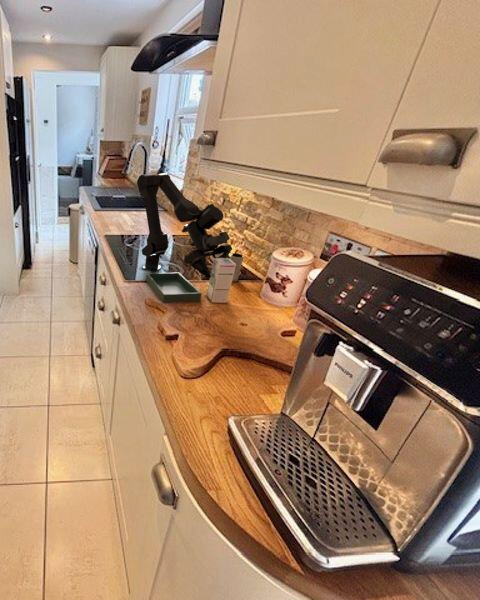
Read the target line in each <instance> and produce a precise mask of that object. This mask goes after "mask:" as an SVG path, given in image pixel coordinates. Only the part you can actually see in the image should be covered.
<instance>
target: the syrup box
mask: <svg viewBox="0 0 480 600" xmlns="http://www.w3.org/2000/svg"><path fill="white" fill-rule="evenodd" d="M211 266H212V267H211V271H210V275H211V278H209V281H208V286H207V289H206V290H207V291H206V297H207V298H208V300H209V301H210V302H211V303H216V304H217V303H218V304H219V303H222V304H226V303H228V300H229V297H230V293H231V288H232V283H233V281H232V280H233V275H234V271H235V266H236V264H235V263H234V262H233V261H232V260H231V259H230V258H229V257H228V258H214V257H213V260H212V265H211Z"/></svg>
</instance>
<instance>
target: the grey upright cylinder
mask: <svg viewBox="0 0 480 600" xmlns="http://www.w3.org/2000/svg"><path fill="white" fill-rule="evenodd" d="M230 254H231V255H230V258H229V259H231V260H232V261H233V262H234V263H235V264H236V266H235V271H234V275H233V280H232V282H237V281H239V277H240V273H241V269H242V265H243V262H244V257H245V256H244V254H242V253H230Z"/></svg>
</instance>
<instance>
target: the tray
mask: <svg viewBox="0 0 480 600" xmlns="http://www.w3.org/2000/svg"><path fill="white" fill-rule="evenodd" d="M145 281H146V283H147V284H148V286H149V287H150V288H151V290H153V292H154V293H155V295H156V296H157V297H158V298H159V299H160V301H161V302H162V303H180V302H181V303H182V302H183V303H185V302H200V301H201V299H202V292H201V291H200V290H199V288H197V287H195V285H194V284H192V283H191V282H190V281H189V280H188V279H187V278H186V277H184V275H183V274H182V273H181V272H179V271H178V272H177V271H175V272H150V273H149V272H148V273H146V275H145Z"/></svg>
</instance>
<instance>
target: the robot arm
mask: <svg viewBox="0 0 480 600" xmlns="http://www.w3.org/2000/svg"><path fill="white" fill-rule="evenodd" d="M136 186H137V189H138V193H139V194H140V195H141V197H142V198H143V200H144V207H145V214H146V221H147V226H148V236H147V238H146V245H145V246H144V247H143V248H142V249H141V255H143V256H144V257H145V261H144V262H145V263H144V265H143V266H142V267H141V269H142V270H147V271H150V272H158V271H159V270H160V269H161V267H162V266H161V265H160V258H161V256H164V255H165V254H166V251H167V250H168V249H169V244H170V242H169V235H168V233H164V232H163V230H162V225H161V218H160V212H159V205H158V199H157V198H158V197H157V194H158V192H159V188H160V190H161V191H162V193H163V194H164V195H165V196H166V198H167V199H168V201H169V202H170V203H171V205H172V207H173V212H174V215H175V217H176V219H177V221H178V222H179V223H188V224H184V225H183V228H182V229H181V230H182V231H181V233H183V234H184V233H187V234H188V236H189V237H190V240H191V243H190V246H191V247H194V248H195V249H193V250H192V251H190V252H189V253H187V254H186V255H185V256H184V257H183V262H184V264H185V265H186V266H187V265H188V266H189V267H192V268H193V269H194V270H196V271H197V272H199V273H200V274H201V275H202V276H203V277H205V278H207V279H209V280H210V278H211V271H210V270H209V268H208V265H207V263H206V260H207V258H209V257H212V258H213V259H214V258H229V255H230V254H232V251H233V248H232V245H231V244H230V243H229V242H228V241H230V238H231V236H230V235H229V233H228V232H227V231H223V232H219V234H218V235H215V236H214V235H213V234H211V233H210V234H208V231H207V230H211V229H212V228H214V226H216V225H217V224H219V223H220V222H221V221H222V220H223V219H224V213H223V211H222V210H221V209H219V207H217V206H215V205H214V203H208V204H207V205H205V207H204V208H203V209H200V208H199V206H198V205H196V203H195V202H193V201H192V200H190V199H187V198H186V197H185V196H184V194H183V193H182V192H181V191H180V189H179V188H178V187H177V185H176V184H175V183H174V181H173V180H172V179H171V176H170V175H169V174H168V173H158V174H154V173H148V174H146V173H145V174H140V175H139V177H138V179H137V180H136Z"/></svg>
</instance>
